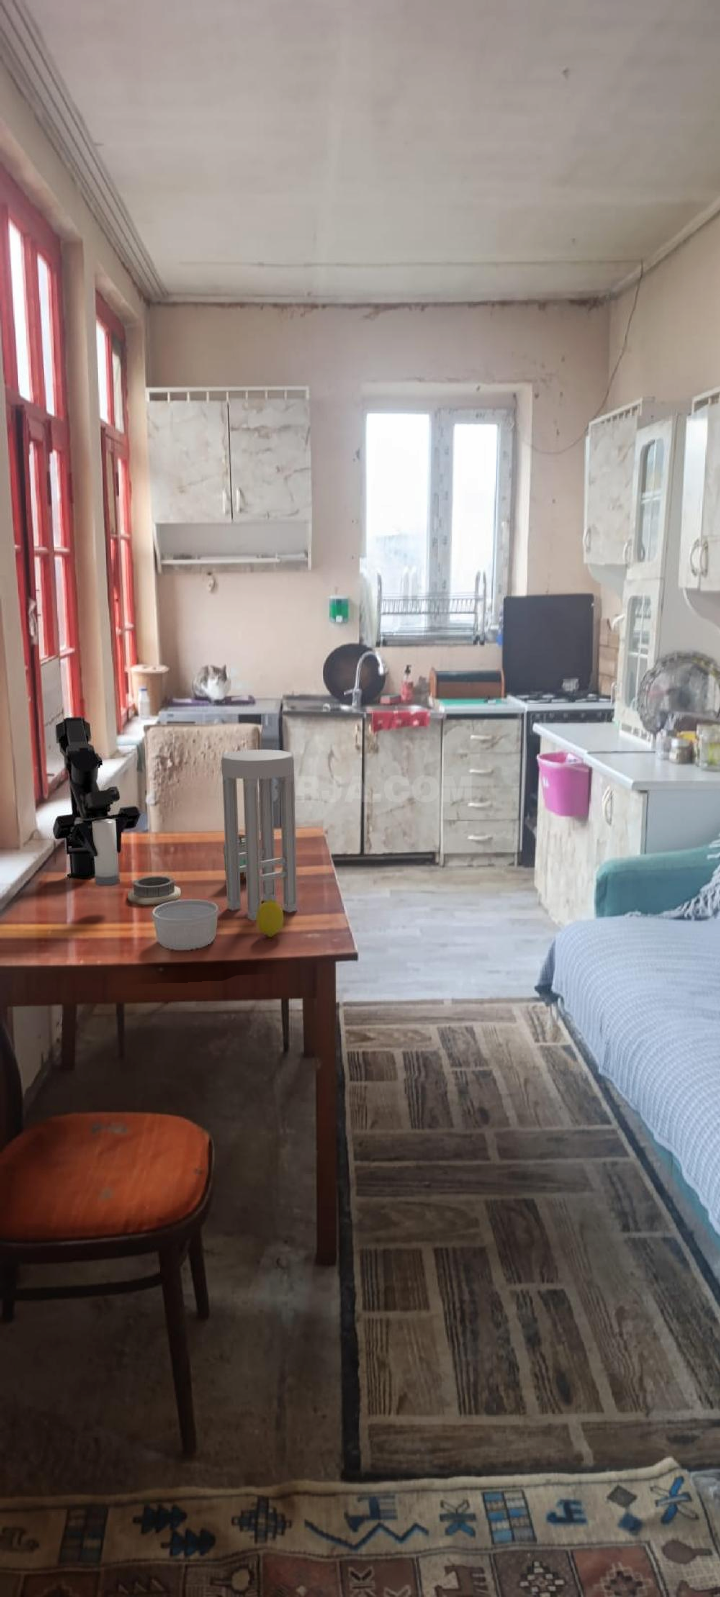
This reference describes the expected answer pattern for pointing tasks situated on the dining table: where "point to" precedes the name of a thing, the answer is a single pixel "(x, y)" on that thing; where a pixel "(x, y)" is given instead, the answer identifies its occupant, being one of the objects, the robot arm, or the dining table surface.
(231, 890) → the stool
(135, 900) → the socket
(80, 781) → the robot arm
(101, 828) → the white smooth rounded part
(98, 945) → the dining table surface
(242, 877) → the food container
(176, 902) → the ramekin
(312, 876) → the dining table surface
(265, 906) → the lemon
